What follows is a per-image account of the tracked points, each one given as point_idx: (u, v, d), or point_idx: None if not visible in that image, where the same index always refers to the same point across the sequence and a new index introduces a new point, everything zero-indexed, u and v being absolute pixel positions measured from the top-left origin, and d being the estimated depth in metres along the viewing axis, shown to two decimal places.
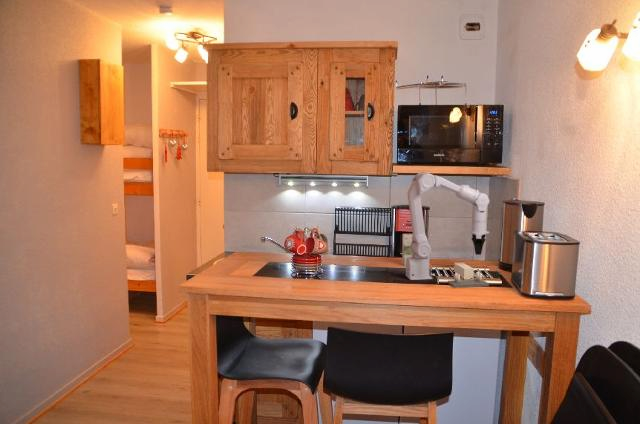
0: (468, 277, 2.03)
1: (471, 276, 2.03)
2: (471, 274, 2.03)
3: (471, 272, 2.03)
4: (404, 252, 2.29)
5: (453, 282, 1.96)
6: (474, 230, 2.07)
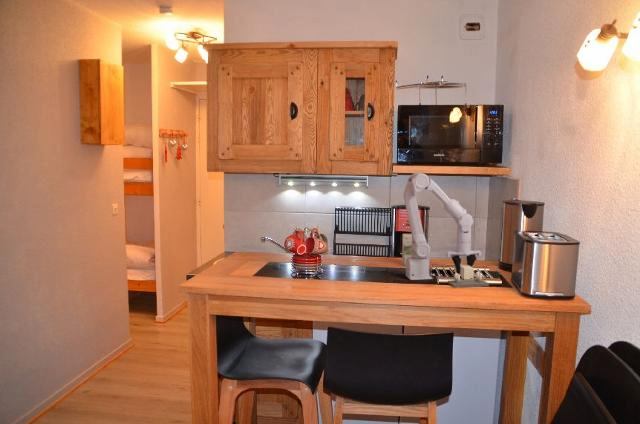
0: (468, 277, 2.03)
1: (471, 276, 2.03)
2: (471, 274, 2.03)
3: (471, 272, 2.03)
4: (404, 252, 2.29)
5: (453, 282, 1.96)
6: None
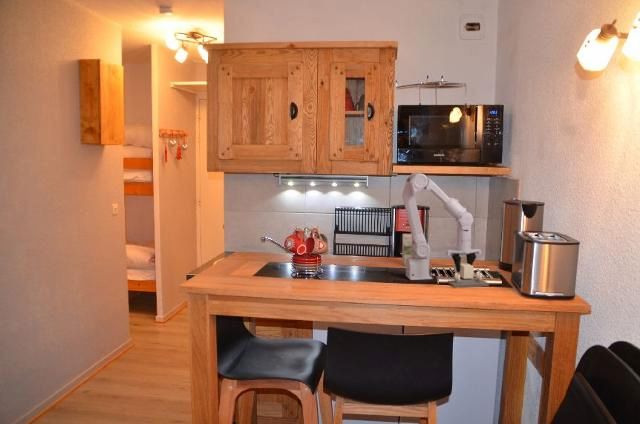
0: (468, 275, 2.03)
1: (471, 274, 2.03)
2: (471, 272, 2.03)
3: (471, 270, 2.03)
4: (404, 252, 2.29)
5: (453, 282, 1.96)
6: None
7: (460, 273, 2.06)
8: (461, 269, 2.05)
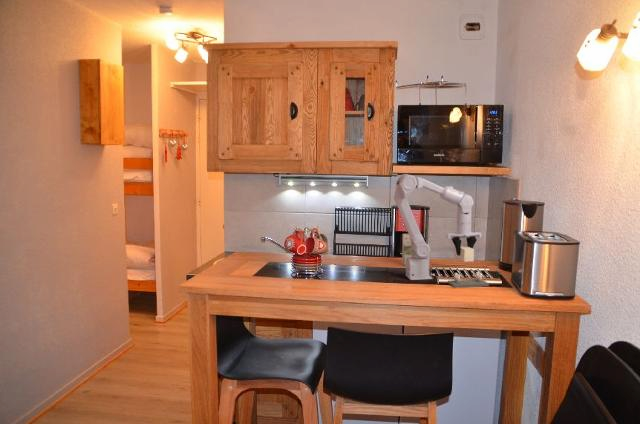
0: (468, 258, 2.02)
1: (471, 257, 2.02)
2: (471, 255, 2.02)
3: (471, 253, 2.02)
4: (404, 252, 2.29)
5: (453, 282, 1.96)
6: None
7: (460, 256, 2.06)
8: (461, 252, 2.04)
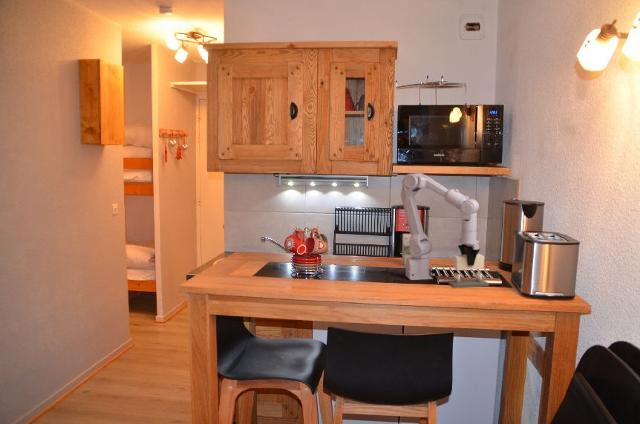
0: None
1: None
2: None
3: None
4: (404, 252, 2.29)
5: (453, 282, 1.96)
6: (466, 240, 1.92)
7: (474, 266, 1.94)
8: (477, 261, 1.94)
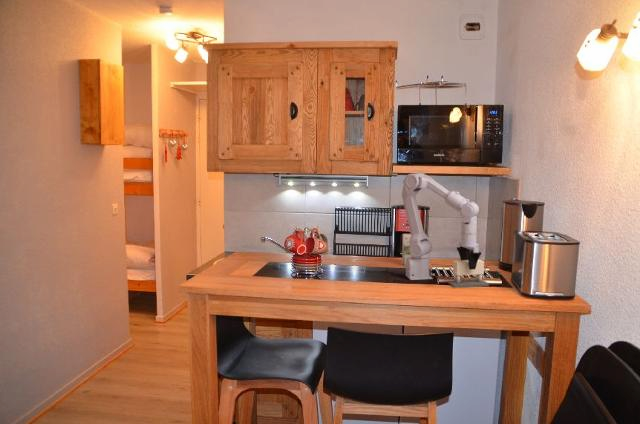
0: None
1: None
2: None
3: None
4: (404, 252, 2.29)
5: (453, 282, 1.96)
6: (466, 243, 1.92)
7: (474, 271, 1.94)
8: (477, 266, 1.94)
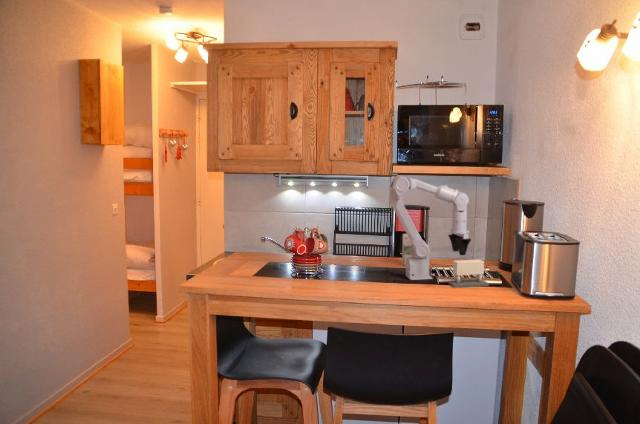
0: None
1: None
2: None
3: None
4: (404, 252, 2.29)
5: (453, 282, 1.96)
6: (457, 230, 2.03)
7: (474, 271, 1.94)
8: (477, 266, 1.94)
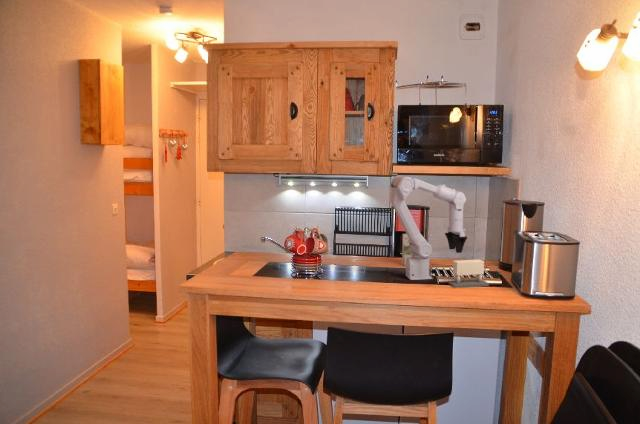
0: None
1: None
2: None
3: None
4: (404, 252, 2.29)
5: (453, 282, 1.96)
6: (453, 229, 2.08)
7: (474, 271, 1.94)
8: (477, 266, 1.94)
